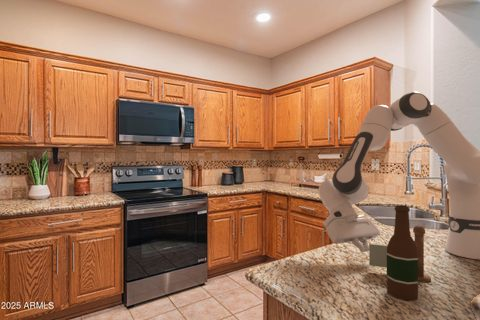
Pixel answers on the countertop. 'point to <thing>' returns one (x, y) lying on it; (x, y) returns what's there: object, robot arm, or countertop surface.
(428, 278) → the post
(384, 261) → the flap
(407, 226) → the beer bottle
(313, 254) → the countertop surface
